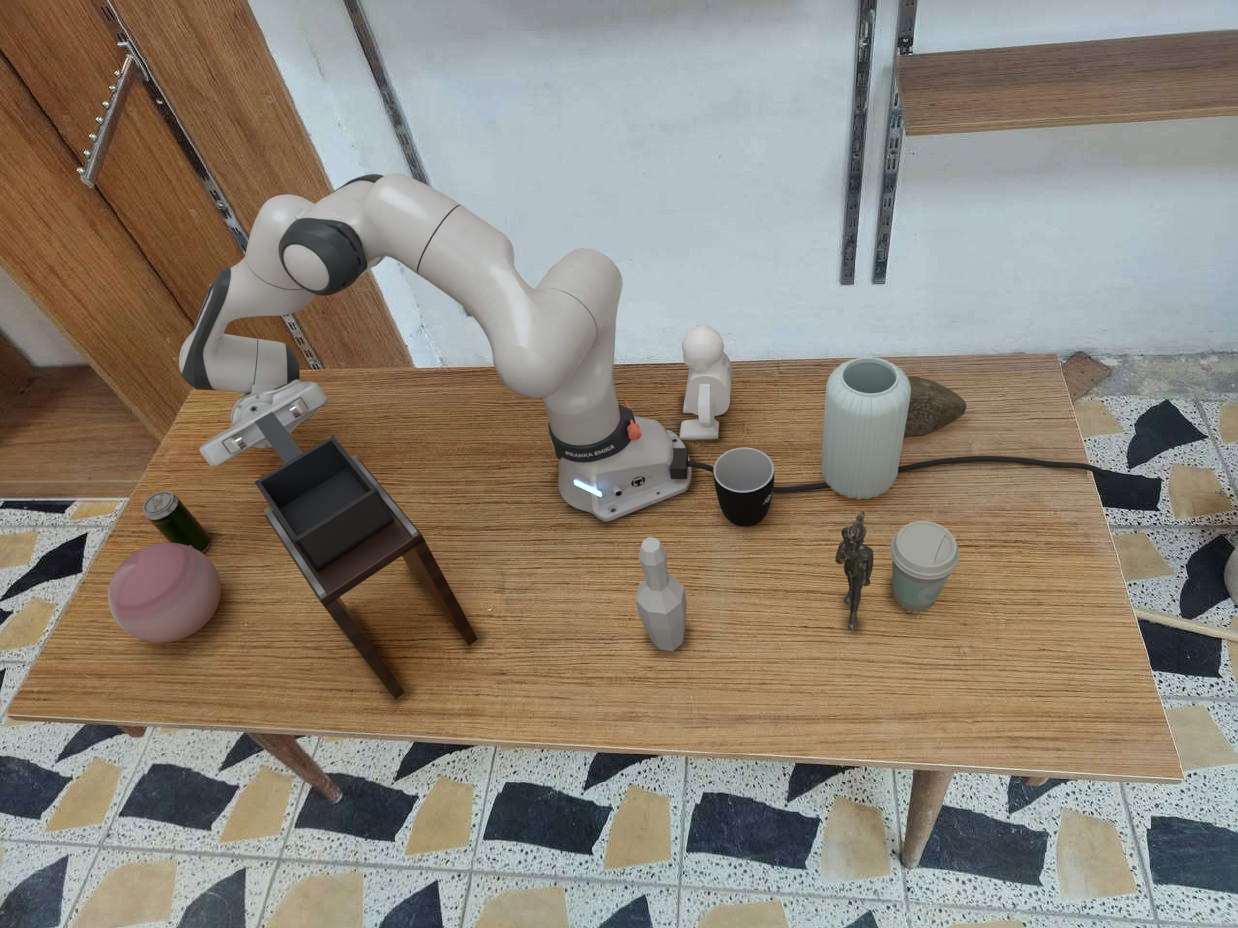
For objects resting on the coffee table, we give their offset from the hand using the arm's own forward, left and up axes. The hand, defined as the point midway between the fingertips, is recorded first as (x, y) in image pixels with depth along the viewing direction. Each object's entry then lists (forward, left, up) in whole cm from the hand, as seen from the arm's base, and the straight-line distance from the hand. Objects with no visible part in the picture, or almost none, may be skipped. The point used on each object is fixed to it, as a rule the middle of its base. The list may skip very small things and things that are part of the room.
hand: (268, 427), depth 123 cm
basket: (-11, +20, +4) cm, 23 cm away
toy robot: (-67, -4, -23) cm, 71 cm away
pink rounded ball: (+21, +15, -23) cm, 34 cm away
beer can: (+23, 0, -23) cm, 33 cm away
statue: (-77, +40, -23) cm, 89 cm away
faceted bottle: (-52, +37, -23) cm, 67 cm away
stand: (-14, +26, -23) cm, 37 cm away
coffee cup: (-87, +39, -23) cm, 98 cm away
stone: (-99, +8, -23) cm, 102 cm away
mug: (-69, +17, -23) cm, 74 cm away
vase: (-87, +17, -23) cm, 91 cm away
